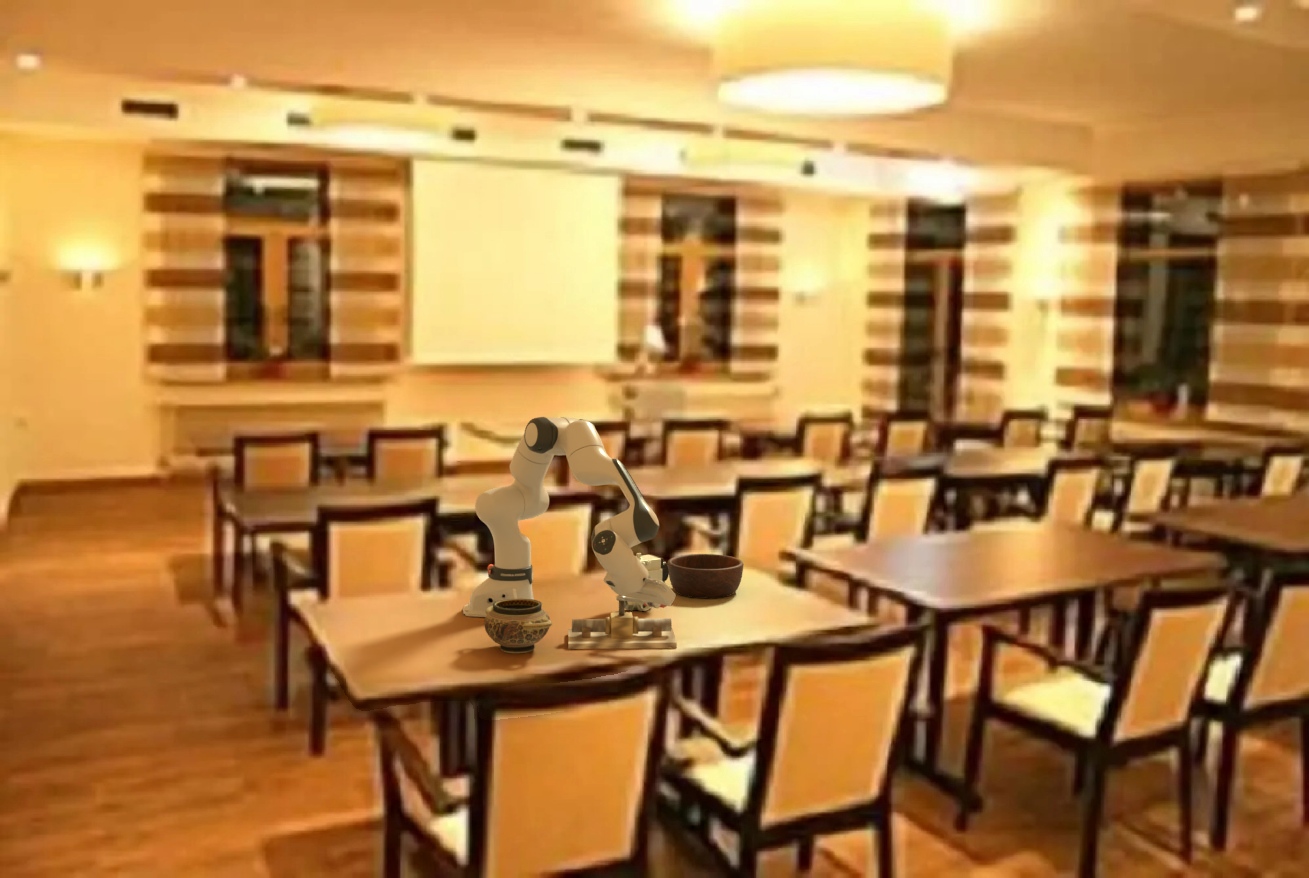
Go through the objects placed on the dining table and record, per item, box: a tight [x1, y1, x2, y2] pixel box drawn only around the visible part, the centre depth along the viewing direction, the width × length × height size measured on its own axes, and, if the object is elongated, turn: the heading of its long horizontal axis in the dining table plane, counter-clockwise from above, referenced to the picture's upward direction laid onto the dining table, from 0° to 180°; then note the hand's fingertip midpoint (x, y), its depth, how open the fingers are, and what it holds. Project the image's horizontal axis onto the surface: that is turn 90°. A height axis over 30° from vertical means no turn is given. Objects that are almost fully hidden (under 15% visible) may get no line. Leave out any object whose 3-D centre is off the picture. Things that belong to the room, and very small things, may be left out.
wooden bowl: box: [667, 553, 744, 599], centre depth 416 cm, size 25×25×10 cm
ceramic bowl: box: [483, 599, 553, 654], centre depth 347 cm, size 24×18×15 cm
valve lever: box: [615, 594, 667, 609], centre depth 353 cm, size 15×3×2 cm, turn 66°
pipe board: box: [567, 601, 678, 650], centre depth 356 cm, size 30×15×12 cm, turn 94°
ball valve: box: [625, 552, 669, 612], centre depth 391 cm, size 18×8×18 cm, turn 121°
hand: (654, 605), depth 349 cm, fingers closed
